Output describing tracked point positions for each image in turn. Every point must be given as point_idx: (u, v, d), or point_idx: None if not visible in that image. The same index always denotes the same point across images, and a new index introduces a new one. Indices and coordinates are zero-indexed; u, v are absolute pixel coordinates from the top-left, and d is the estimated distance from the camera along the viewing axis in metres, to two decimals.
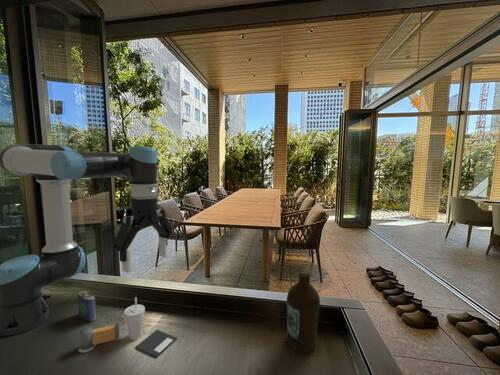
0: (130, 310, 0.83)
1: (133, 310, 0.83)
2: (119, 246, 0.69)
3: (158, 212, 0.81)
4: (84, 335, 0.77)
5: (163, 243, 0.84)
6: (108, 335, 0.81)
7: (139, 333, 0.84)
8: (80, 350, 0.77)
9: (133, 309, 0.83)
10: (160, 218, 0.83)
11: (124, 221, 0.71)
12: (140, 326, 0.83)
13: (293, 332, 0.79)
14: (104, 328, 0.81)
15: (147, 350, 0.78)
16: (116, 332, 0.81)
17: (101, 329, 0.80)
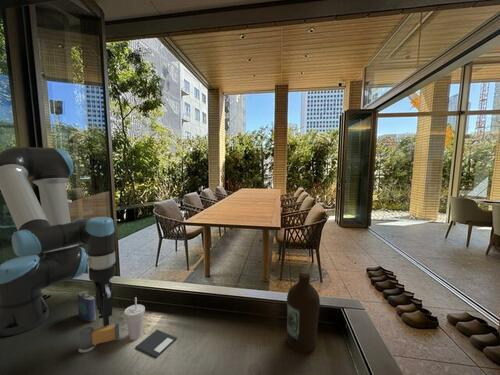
0: (130, 310, 0.83)
1: (133, 310, 0.83)
2: (97, 306, 0.84)
3: (105, 291, 0.78)
4: (84, 335, 0.77)
5: None
6: (108, 335, 0.81)
7: (139, 333, 0.84)
8: (80, 350, 0.77)
9: (133, 309, 0.83)
10: None
11: None
12: (140, 326, 0.83)
13: (293, 332, 0.79)
14: (104, 328, 0.81)
15: (147, 350, 0.78)
16: (116, 332, 0.81)
17: (101, 329, 0.80)
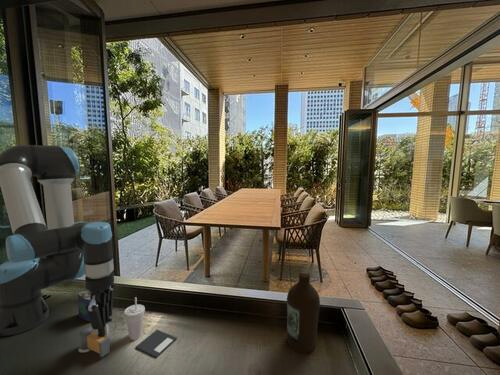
0: (130, 310, 0.83)
1: (133, 310, 0.83)
2: None
3: None
4: (80, 335, 0.77)
5: None
6: (96, 346, 0.76)
7: (139, 333, 0.84)
8: (80, 350, 0.77)
9: (133, 309, 0.83)
10: None
11: None
12: (140, 326, 0.83)
13: (293, 332, 0.79)
14: (96, 337, 0.77)
15: (147, 350, 0.78)
16: (100, 348, 0.74)
17: (94, 336, 0.77)
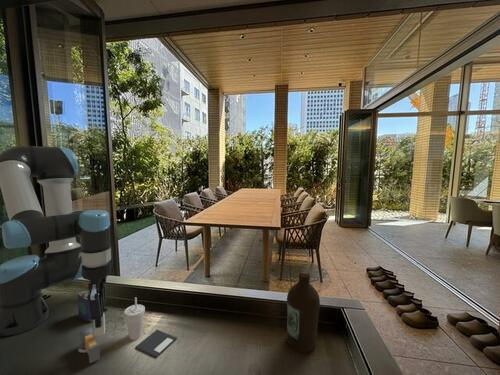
0: (130, 310, 0.83)
1: (133, 310, 0.83)
2: None
3: None
4: None
5: None
6: (88, 350, 0.74)
7: (139, 333, 0.84)
8: (80, 350, 0.77)
9: (133, 309, 0.83)
10: None
11: None
12: (140, 326, 0.83)
13: (293, 332, 0.79)
14: (90, 340, 0.75)
15: (147, 350, 0.78)
16: (89, 353, 0.72)
17: (89, 339, 0.76)
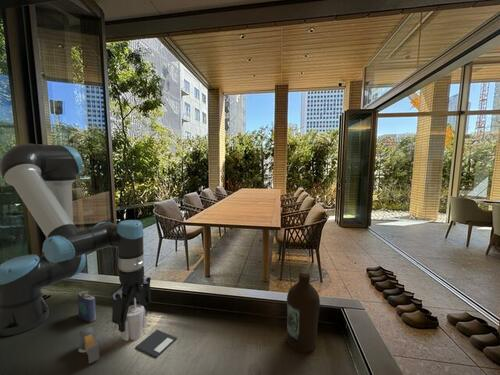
0: (129, 310, 0.83)
1: (132, 310, 0.83)
2: (118, 320, 0.77)
3: (144, 279, 0.87)
4: None
5: None
6: (88, 350, 0.74)
7: (139, 333, 0.83)
8: (80, 350, 0.77)
9: (132, 309, 0.83)
10: (144, 286, 0.88)
11: (114, 298, 0.77)
12: (140, 326, 0.83)
13: (293, 332, 0.79)
14: (89, 340, 0.75)
15: (147, 350, 0.78)
16: (88, 353, 0.72)
17: (89, 339, 0.76)
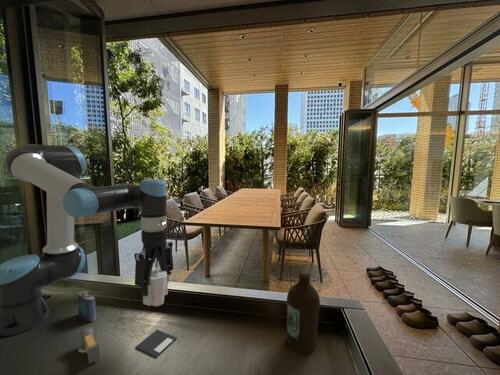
0: (152, 275, 0.78)
1: (155, 275, 0.78)
2: (141, 283, 0.73)
3: (167, 244, 0.82)
4: None
5: None
6: (88, 350, 0.74)
7: (162, 299, 0.79)
8: (80, 350, 0.77)
9: (155, 274, 0.78)
10: (166, 251, 0.83)
11: (138, 259, 0.72)
12: (163, 292, 0.79)
13: (293, 332, 0.79)
14: (89, 340, 0.75)
15: (147, 350, 0.78)
16: (88, 353, 0.72)
17: (89, 339, 0.76)
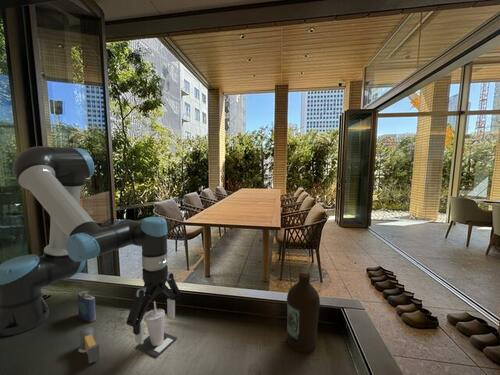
0: (150, 315, 0.80)
1: (153, 314, 0.80)
2: (134, 322, 0.71)
3: (167, 277, 0.83)
4: None
5: (172, 305, 0.86)
6: (88, 350, 0.74)
7: (161, 338, 0.80)
8: (80, 350, 0.77)
9: (153, 313, 0.80)
10: (169, 281, 0.85)
11: (137, 295, 0.73)
12: (162, 331, 0.80)
13: (293, 332, 0.79)
14: (89, 340, 0.75)
15: (147, 350, 0.78)
16: (88, 353, 0.72)
17: (89, 339, 0.76)
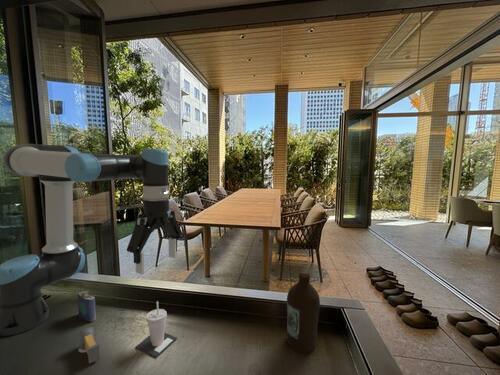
0: (152, 315, 0.80)
1: (155, 315, 0.80)
2: (134, 248, 0.69)
3: (168, 213, 0.82)
4: None
5: (173, 244, 0.84)
6: (88, 350, 0.74)
7: (162, 339, 0.80)
8: (80, 350, 0.77)
9: (155, 314, 0.80)
10: (170, 219, 0.84)
11: (138, 223, 0.72)
12: (162, 331, 0.80)
13: (293, 332, 0.79)
14: (89, 340, 0.75)
15: (147, 350, 0.78)
16: (88, 353, 0.72)
17: (89, 339, 0.76)
